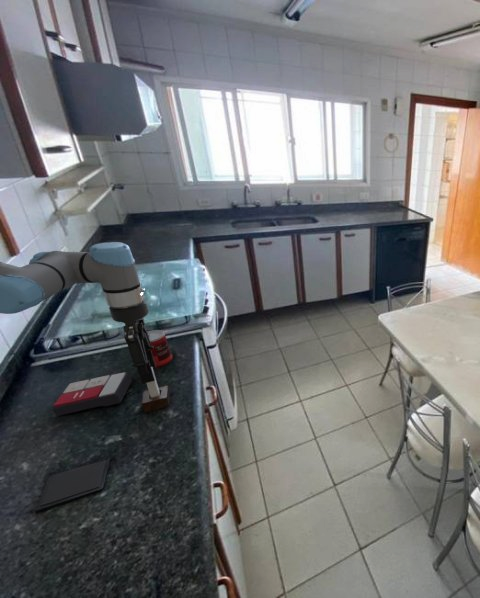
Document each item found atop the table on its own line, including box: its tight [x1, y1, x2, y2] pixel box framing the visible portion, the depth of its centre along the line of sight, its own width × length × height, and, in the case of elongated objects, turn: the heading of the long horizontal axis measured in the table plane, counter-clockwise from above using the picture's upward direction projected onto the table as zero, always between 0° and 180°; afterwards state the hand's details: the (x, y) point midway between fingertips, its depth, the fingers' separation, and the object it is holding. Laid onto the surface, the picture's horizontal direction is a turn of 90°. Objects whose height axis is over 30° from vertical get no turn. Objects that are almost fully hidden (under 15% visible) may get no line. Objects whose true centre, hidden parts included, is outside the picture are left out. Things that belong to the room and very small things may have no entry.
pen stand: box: [141, 385, 171, 414], centre depth 98 cm, size 6×6×4 cm
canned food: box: [147, 329, 173, 368], centre depth 114 cm, size 8×8×11 cm
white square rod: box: [145, 367, 161, 398], centre depth 96 cm, size 2×2×13 cm
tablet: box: [34, 457, 111, 514], centre depth 75 cm, size 11×9×1 cm
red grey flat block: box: [51, 371, 133, 417], centre depth 98 cm, size 11×4×15 cm
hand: (149, 375), depth 94 cm, fingers open, 5 cm apart
